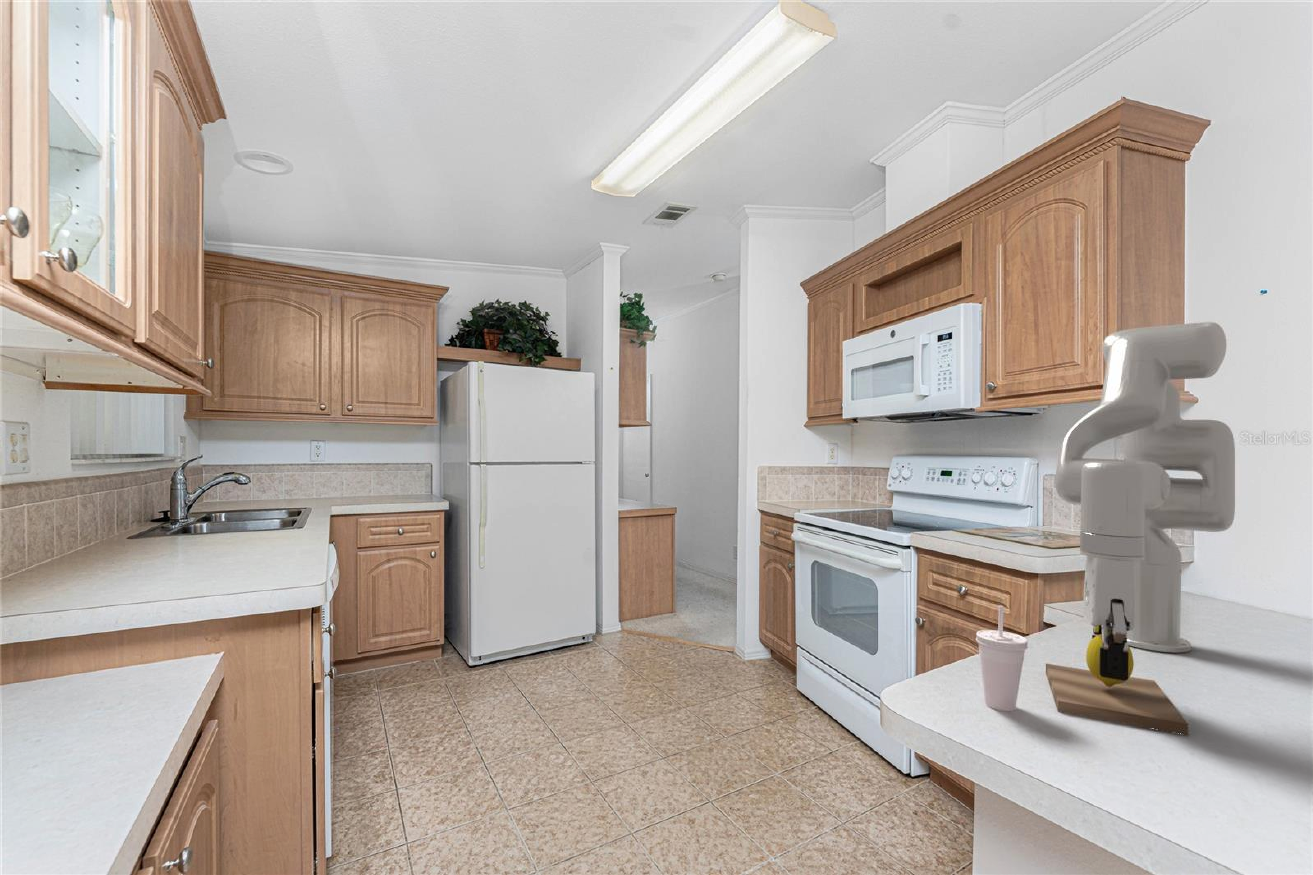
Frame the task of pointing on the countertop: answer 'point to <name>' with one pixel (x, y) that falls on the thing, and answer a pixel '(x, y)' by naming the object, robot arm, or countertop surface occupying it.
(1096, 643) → the lemon
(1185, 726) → the cutting board
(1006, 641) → the smoothie
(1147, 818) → the countertop surface
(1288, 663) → the countertop surface
